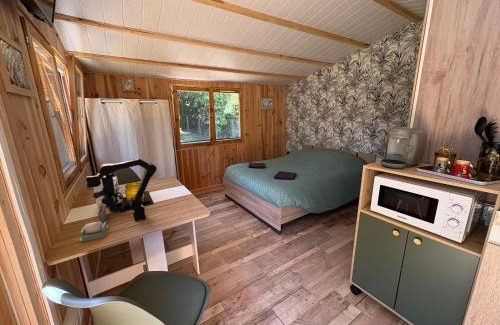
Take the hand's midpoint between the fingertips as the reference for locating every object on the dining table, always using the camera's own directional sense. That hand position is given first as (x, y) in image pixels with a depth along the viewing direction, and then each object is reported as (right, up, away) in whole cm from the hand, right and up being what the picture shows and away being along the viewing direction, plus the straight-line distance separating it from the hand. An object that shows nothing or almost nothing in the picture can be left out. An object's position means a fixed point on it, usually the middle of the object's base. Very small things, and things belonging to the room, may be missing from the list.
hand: (112, 208), depth 133 cm
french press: (-14, -7, +25) cm, 30 cm away
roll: (-6, -13, -7) cm, 16 cm away
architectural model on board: (-14, -11, +12) cm, 21 cm away
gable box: (-30, -3, +42) cm, 52 cm away
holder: (-6, -14, -6) cm, 17 cm away
